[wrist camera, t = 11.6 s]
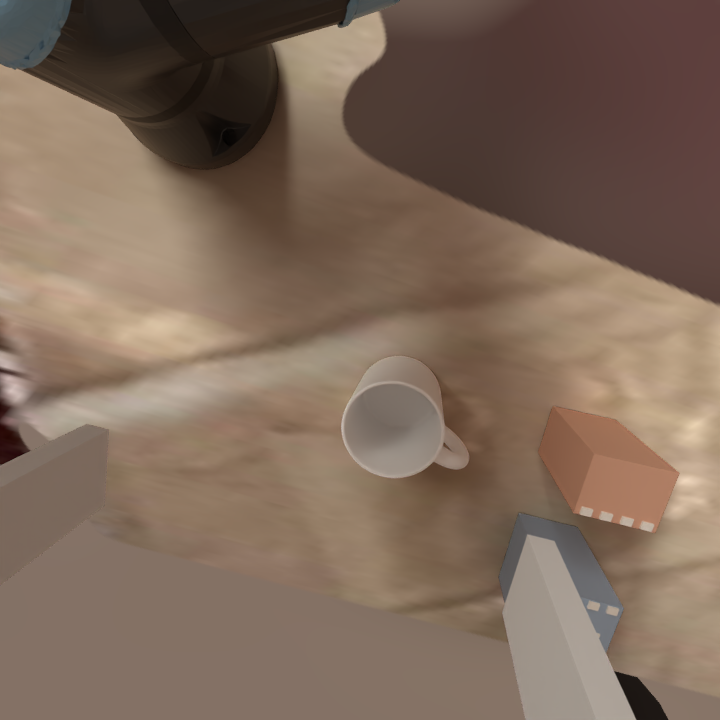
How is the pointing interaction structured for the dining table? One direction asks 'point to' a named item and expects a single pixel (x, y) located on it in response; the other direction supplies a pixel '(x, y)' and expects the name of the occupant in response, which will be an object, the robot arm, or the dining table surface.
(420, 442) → the mug
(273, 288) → the dining table surface
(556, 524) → the toy oven block
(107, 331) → the dining table surface
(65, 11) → the robot arm
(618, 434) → the stub
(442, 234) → the dining table surface
